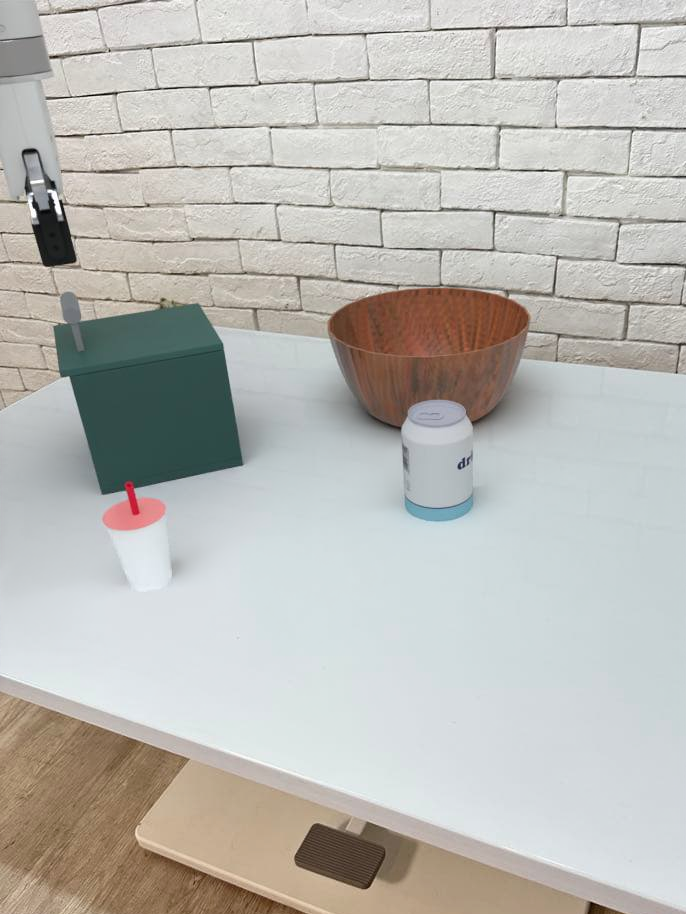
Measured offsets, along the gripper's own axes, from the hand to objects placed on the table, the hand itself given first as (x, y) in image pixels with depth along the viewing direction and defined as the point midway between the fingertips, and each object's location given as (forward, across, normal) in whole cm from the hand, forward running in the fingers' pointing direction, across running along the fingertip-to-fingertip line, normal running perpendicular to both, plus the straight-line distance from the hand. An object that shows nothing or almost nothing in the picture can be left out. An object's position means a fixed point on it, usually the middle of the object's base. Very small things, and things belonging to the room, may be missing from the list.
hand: (58, 252), depth 88 cm
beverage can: (+25, +28, +30) cm, 48 cm away
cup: (+24, +29, +1) cm, 38 cm away
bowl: (+25, +2, +40) cm, 47 cm away
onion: (+25, -36, +13) cm, 46 cm away
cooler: (+25, 0, +6) cm, 25 cm away
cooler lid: (+11, 0, +6) cm, 12 cm away
